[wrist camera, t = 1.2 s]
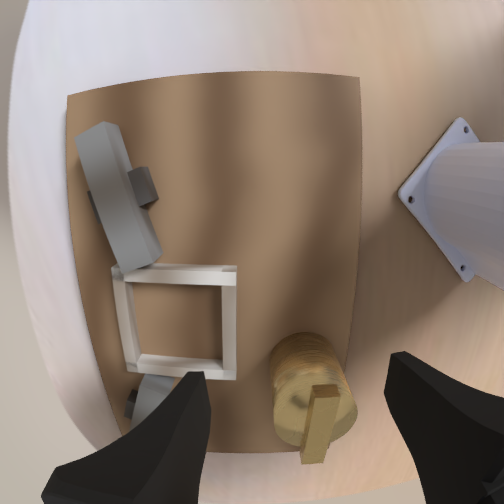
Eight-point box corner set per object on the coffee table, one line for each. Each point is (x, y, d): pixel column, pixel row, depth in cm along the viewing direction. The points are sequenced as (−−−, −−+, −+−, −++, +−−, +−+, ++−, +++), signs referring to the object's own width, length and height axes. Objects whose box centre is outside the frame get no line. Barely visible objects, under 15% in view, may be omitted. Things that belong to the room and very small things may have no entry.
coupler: (271, 326, 20) (279, 399, 13) (339, 325, 20) (373, 393, 13) (267, 389, 21) (272, 465, 14) (328, 387, 21) (350, 459, 14)
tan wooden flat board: (353, 82, 17) (373, 66, 13) (326, 439, 24) (333, 468, 20) (76, 98, 17) (47, 89, 13) (128, 433, 24) (117, 460, 21)
